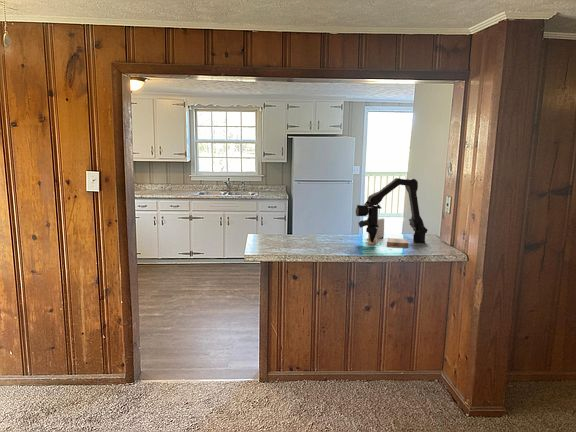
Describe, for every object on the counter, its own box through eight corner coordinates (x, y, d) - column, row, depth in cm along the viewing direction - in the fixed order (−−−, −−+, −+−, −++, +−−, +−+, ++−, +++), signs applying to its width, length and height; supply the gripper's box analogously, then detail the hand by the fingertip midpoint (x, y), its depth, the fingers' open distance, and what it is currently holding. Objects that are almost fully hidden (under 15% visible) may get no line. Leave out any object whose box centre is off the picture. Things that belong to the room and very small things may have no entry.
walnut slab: (407, 243, 254) (407, 239, 253) (407, 248, 242) (408, 243, 242) (387, 242, 257) (387, 238, 257) (386, 246, 246) (387, 242, 245)
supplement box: (375, 235, 277) (375, 217, 275) (384, 237, 271) (384, 218, 269) (367, 237, 272) (368, 218, 270) (376, 238, 266) (377, 219, 264)
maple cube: (376, 242, 255) (376, 235, 255) (375, 244, 251) (375, 236, 250) (368, 242, 256) (368, 235, 256) (368, 243, 252) (368, 236, 251)
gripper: (361, 213, 262) (360, 237, 264) (358, 217, 244) (357, 243, 247) (379, 214, 259) (378, 238, 262) (377, 218, 241) (376, 244, 244)
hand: (372, 241), depth 253 cm, fingers closed on maple cube, 4 cm apart
